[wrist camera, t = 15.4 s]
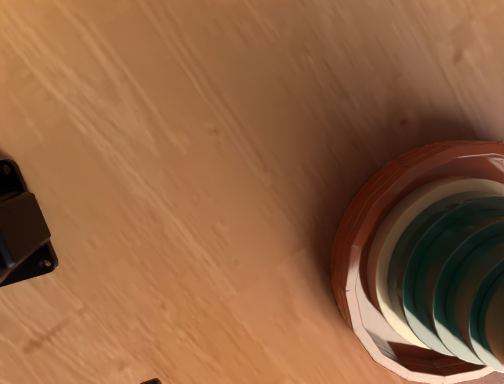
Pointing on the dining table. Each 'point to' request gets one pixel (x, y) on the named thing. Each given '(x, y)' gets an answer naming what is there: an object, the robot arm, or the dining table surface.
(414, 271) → the tagine lid
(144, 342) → the dining table surface
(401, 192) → the tagine base
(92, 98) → the dining table surface
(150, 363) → the dining table surface
